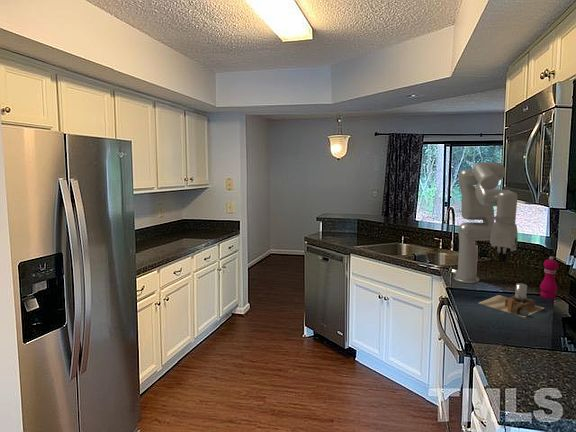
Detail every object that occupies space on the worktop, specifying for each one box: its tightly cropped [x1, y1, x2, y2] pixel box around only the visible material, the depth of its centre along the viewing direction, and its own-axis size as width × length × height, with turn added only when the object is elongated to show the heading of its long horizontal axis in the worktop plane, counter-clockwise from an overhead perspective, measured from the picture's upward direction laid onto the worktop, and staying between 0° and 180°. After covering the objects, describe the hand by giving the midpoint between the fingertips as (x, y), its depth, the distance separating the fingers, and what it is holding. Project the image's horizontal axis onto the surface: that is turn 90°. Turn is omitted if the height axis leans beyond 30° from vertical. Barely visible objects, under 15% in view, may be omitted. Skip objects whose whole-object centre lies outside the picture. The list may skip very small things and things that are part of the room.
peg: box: [514, 282, 528, 304], centre depth 195 cm, size 4×4×10 cm
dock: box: [478, 294, 545, 318], centre depth 197 cm, size 21×18×4 cm
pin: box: [507, 297, 530, 317], centre depth 187 cm, size 8×2×5 cm, turn 36°
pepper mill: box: [539, 256, 559, 300], centre depth 210 cm, size 7×7×20 cm
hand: (502, 261), depth 191 cm, fingers closed
